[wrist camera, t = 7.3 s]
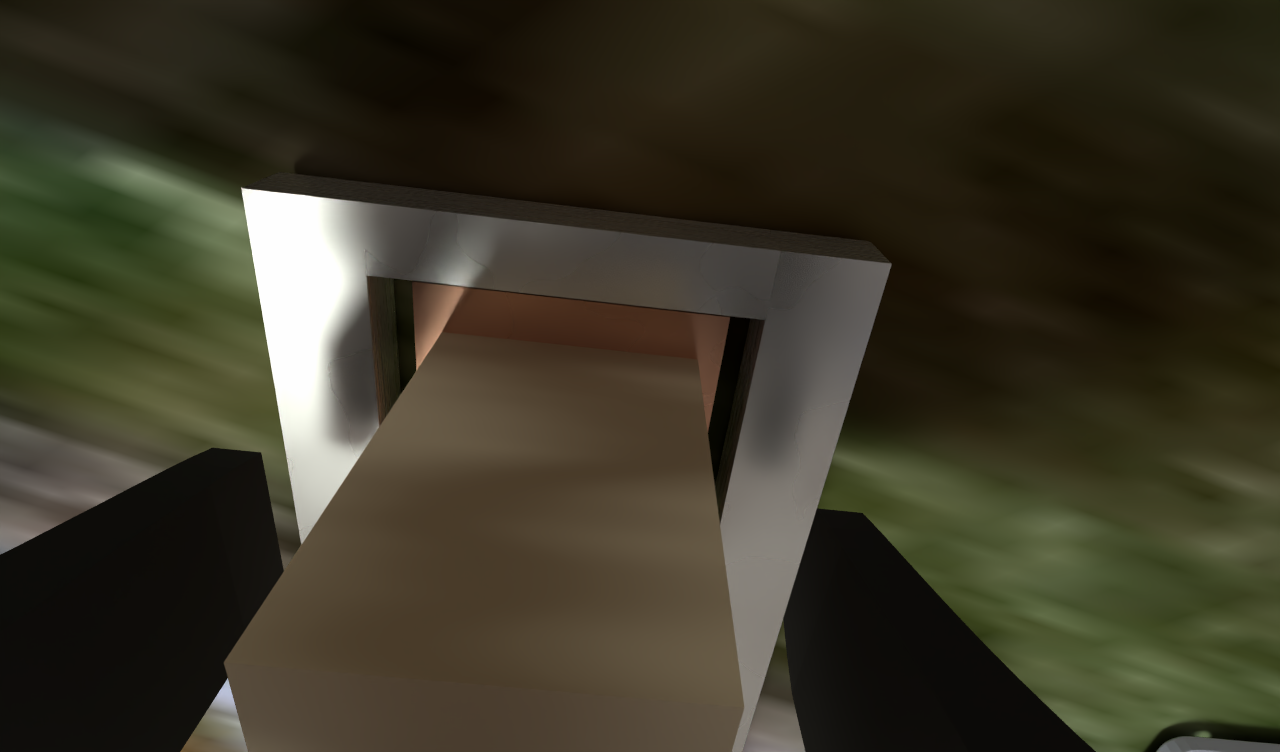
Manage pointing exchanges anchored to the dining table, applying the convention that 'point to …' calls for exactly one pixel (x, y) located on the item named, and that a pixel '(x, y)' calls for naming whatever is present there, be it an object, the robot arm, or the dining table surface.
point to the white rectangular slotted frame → (571, 338)
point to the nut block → (509, 570)
